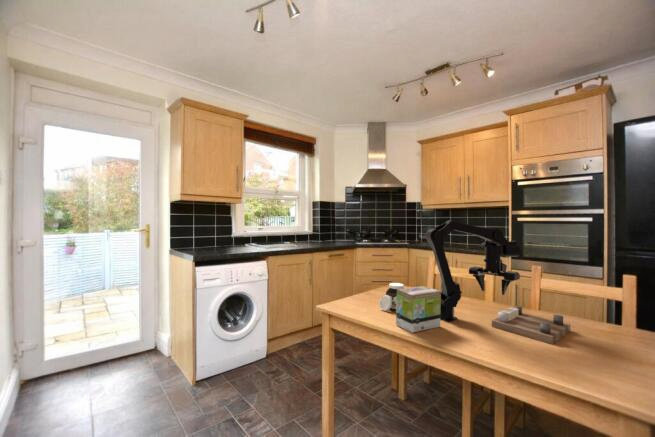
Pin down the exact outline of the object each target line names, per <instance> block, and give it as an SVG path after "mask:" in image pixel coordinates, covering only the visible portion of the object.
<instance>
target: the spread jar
mask: <svg viewBox="0 0 655 437" xmlns="http://www.w3.org/2000/svg"><path fill="white" fill-rule="evenodd" d="M404 287H405V284H403V283H400V282H391V283H389V285H388V289H387V290H386V291H385V295H383V296H381V297H380V299H379V301H378V302H379V303H378V305H379V308H380V310H382V311H384V312H388V311H389V310H391V311H394V312H396V301H397V289H405V288H404Z"/></svg>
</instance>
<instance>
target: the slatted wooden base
mask: <svg viewBox="0 0 655 437" xmlns="http://www.w3.org/2000/svg"><path fill="white" fill-rule="evenodd" d="M513 308H516V309H518V317H516V318H514V319H512V320H510V321H509V322H500V321H498V317H496V318H494V319H492V320H491V327H492V328H496V329H499V330H502V331H506V332H509V333H512V334H516V335H520V336H522V337H527V338H528V339H533V340H536V341H540V342H543V343H546V344H549V345H553V344H555V343H557V342H558V341H559V340H560V339H562V338H563V337H564V336H566V334H568V333H569V332H571V324H570V323H566V322H564V316H563V315H559V314H553V316H552V317H553V318H552V319H550V318H546V317H541V316H536V315H533V314H529V313H524V312H523V307H522V306H519V305H514V306H513Z"/></svg>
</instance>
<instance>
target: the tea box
mask: <svg viewBox="0 0 655 437" xmlns="http://www.w3.org/2000/svg"><path fill="white" fill-rule="evenodd" d="M441 292H442V291H441V290H439V289H435V288H431V287H427V286H425V285H422V286H421V285H420V286H413V287H405V288H404V289H397V301H396V311H395V312H396V313H395V325H397V327H399V328H402V329H404V330H405V331H407V332H410V333H411V334H412V333H413V334H414V333H417V332H420V331H424V330H431V329H436V328H439V327H441V319H440V314H441V310H440V309H441Z"/></svg>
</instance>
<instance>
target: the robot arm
mask: <svg viewBox="0 0 655 437" xmlns="http://www.w3.org/2000/svg"><path fill="white" fill-rule="evenodd" d="M453 231H456V232H460V233H466V234H468V235H473V236H477V237H478V238H481V239H483V240H484V241H483V242H481V244H479V245H480V247H484V250H485V252H484V253H485V254H484V255H485V256H484V257H485V258H484V259H483V262H485V267H484V268H483V266H471V267H469V268H468V274H469V275H472V277H474V278H475V279H476V281H477V283H478V284H479V288H480V289H481V291H482V292H485V290H486V287H485V284H486V283H485V277H486V275H488V276H489V275H490V276H496V277H503V279H501V295H502V296H505V295H506V292H507V290H508V287H509V285H510V283H511V282H514V281H515V282H516V281H518V280H520V278H521V275H520V273H519V272H518V271H511V270H508V271H507V267H508V264H505V263H503V260H502V259H503V258H504V257H505V258H507V257H508V258H510V257H511V258H512V257H513V258H514V257H515V258H516V257H517V258H518V257H520V255H521V254H522V252H521V251H522V249H521V247H520V245H519V244H518V240H511V241H508V240H507V238H506V237H505V236H504V233H503V231H502V229H500V228H499V227H497V228H496V227H484V226H483V227H482V226H481V227H480V226H476V225H471V224H467V223H463V222H459V221H456V220H447V221H445V222H444V223H442V224H439V225H438V226H436V227H434V228H429V229H427V231H426V232H425V240H426V242H427V244H428V245H429V246H430V248H431V249H432V251H433V255H434V258H435V261H436V264H437V269H438V272H439V276H440V278H441V286H440V291H441V309H440V310H441V314H440V320H442V321H444V322H445V321H446V322H453V321H455V320H458V317H457V316H455V308H456V307H457V305H458V303H459V301H460V300H461V298H462V294H463V292H462V290H461V286H460V283H458V282H456V281H454V280H453V276H452V272H451V268H450V266H449V263H448V259H447V255H446V251H445V242H446V241H445V238H446V237H447V236H449V234H451V233H452V232H453ZM501 256H502V258H501Z"/></svg>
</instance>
